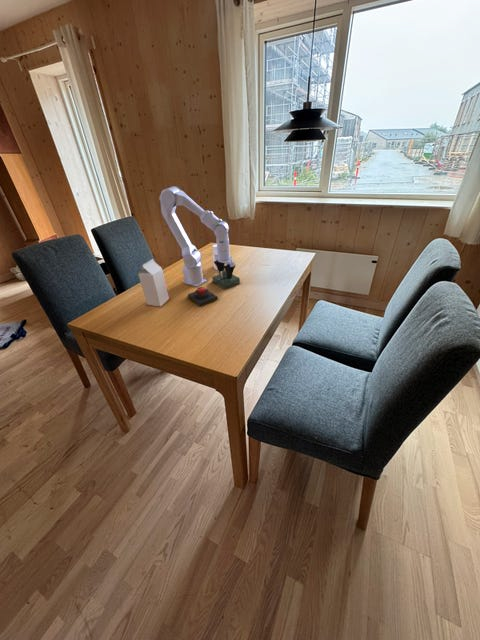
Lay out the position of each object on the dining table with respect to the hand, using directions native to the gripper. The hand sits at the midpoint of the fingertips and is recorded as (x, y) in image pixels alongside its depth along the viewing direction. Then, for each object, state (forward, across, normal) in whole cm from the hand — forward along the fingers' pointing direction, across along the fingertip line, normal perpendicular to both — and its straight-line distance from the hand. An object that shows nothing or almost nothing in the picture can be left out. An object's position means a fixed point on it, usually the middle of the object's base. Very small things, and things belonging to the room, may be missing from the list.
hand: (225, 276), depth 130 cm
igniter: (+3, -6, +17) cm, 19 cm away
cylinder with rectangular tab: (+4, +18, -10) cm, 21 cm away
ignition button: (0, -6, +17) cm, 18 cm away
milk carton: (+4, +4, +34) cm, 35 cm away
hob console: (+3, 0, 0) cm, 3 cm away
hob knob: (0, 0, 0) cm, 0 cm away
